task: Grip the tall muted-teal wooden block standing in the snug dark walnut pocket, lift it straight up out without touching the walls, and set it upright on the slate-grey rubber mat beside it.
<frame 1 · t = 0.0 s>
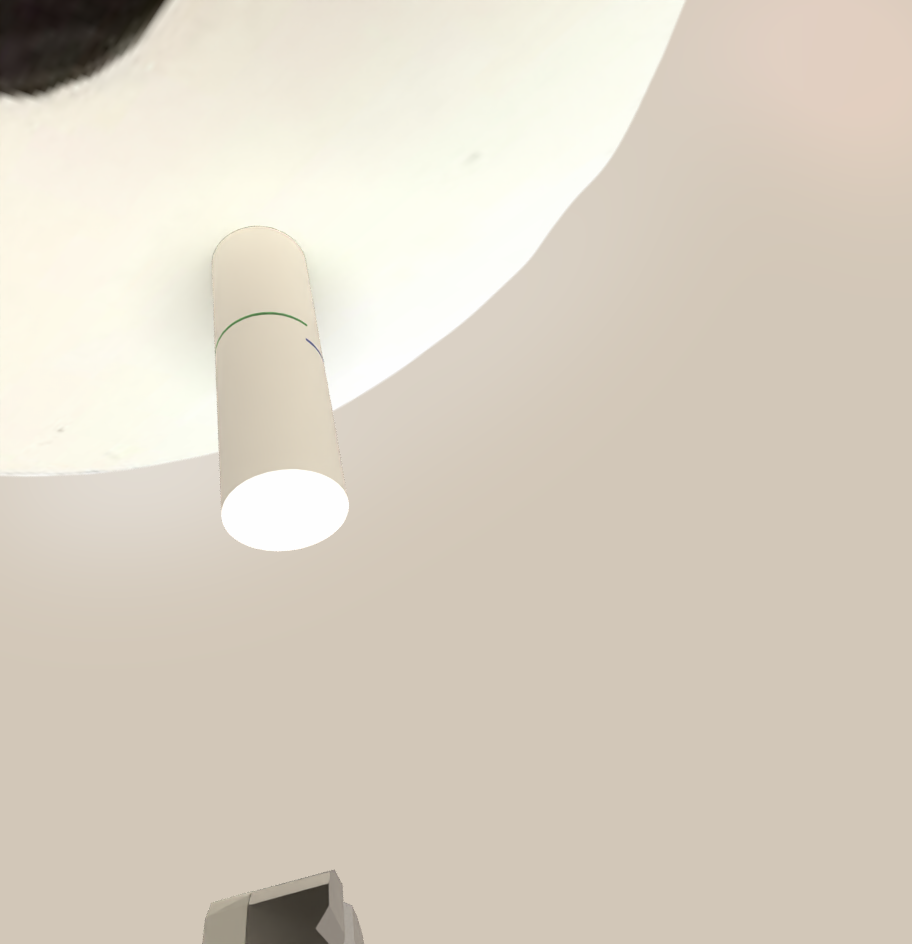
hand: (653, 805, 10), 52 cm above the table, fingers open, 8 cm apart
cylindrical container: (259, 266, 62), on the table
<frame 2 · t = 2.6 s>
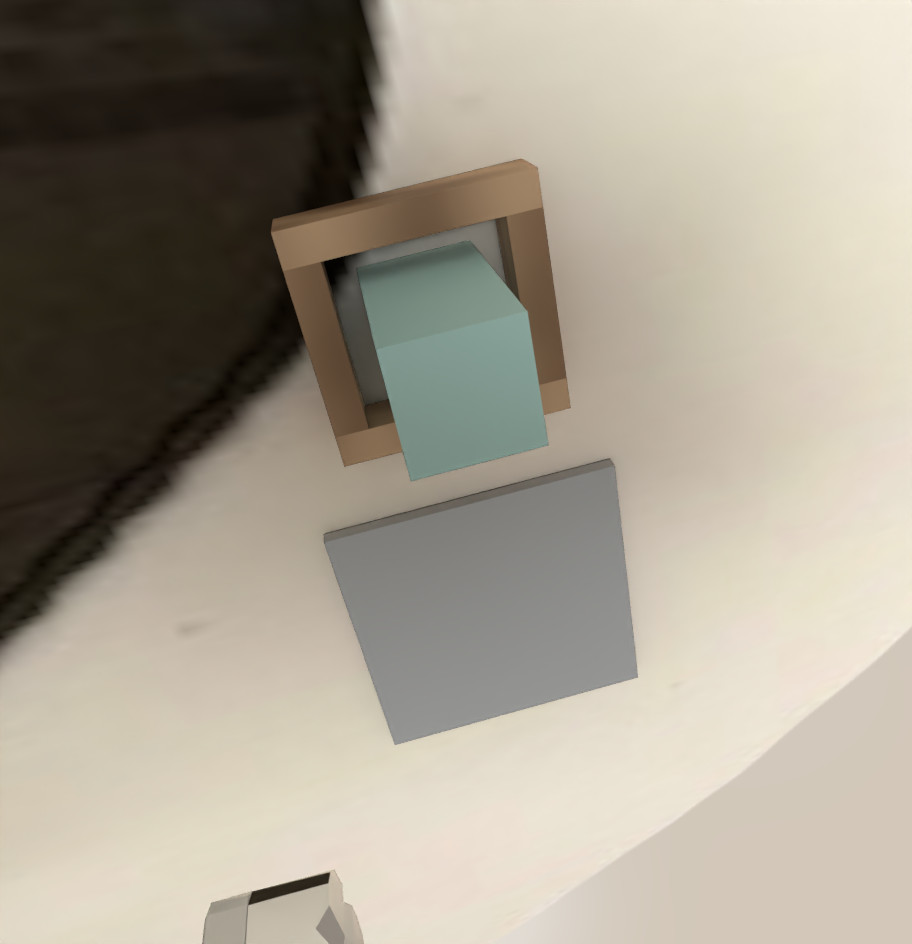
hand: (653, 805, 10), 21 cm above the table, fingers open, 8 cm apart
mat: (493, 607, 35), on the table
teal block: (425, 309, 28), resting in pocket
pocket: (425, 309, 28), on the table
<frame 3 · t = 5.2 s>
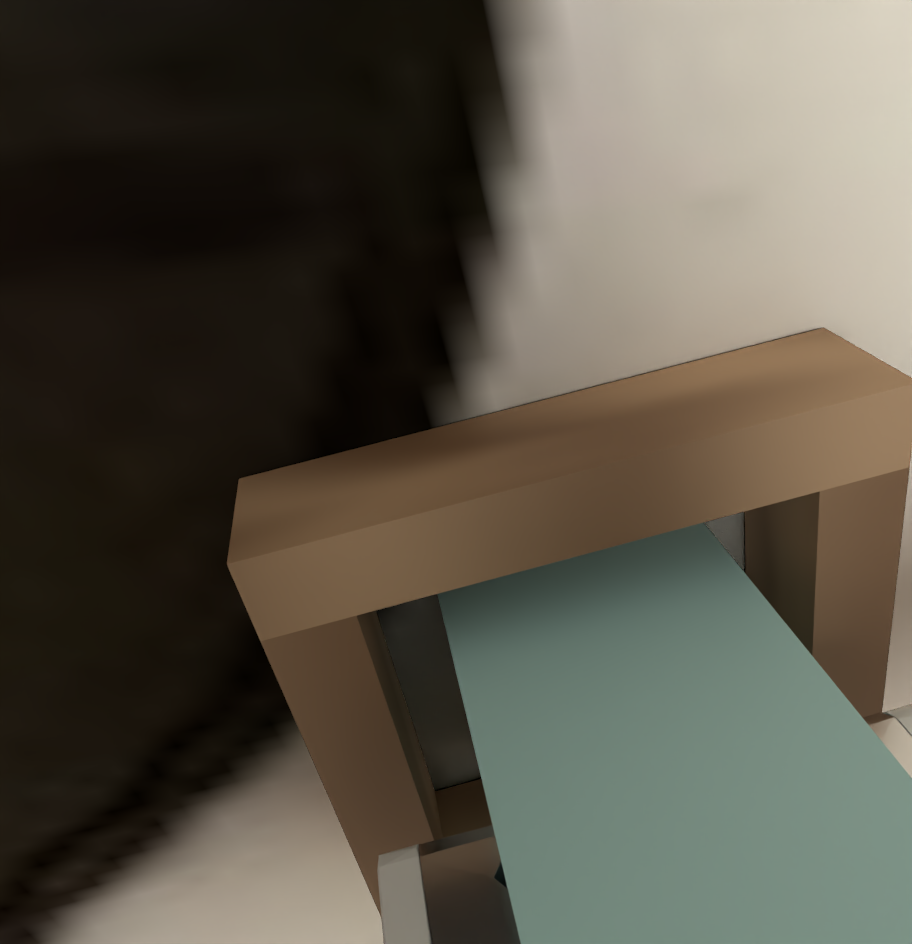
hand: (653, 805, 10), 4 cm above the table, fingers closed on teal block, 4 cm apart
teal block: (572, 626, 13), resting in pocket, touching gripper
pocket: (573, 626, 13), on the table
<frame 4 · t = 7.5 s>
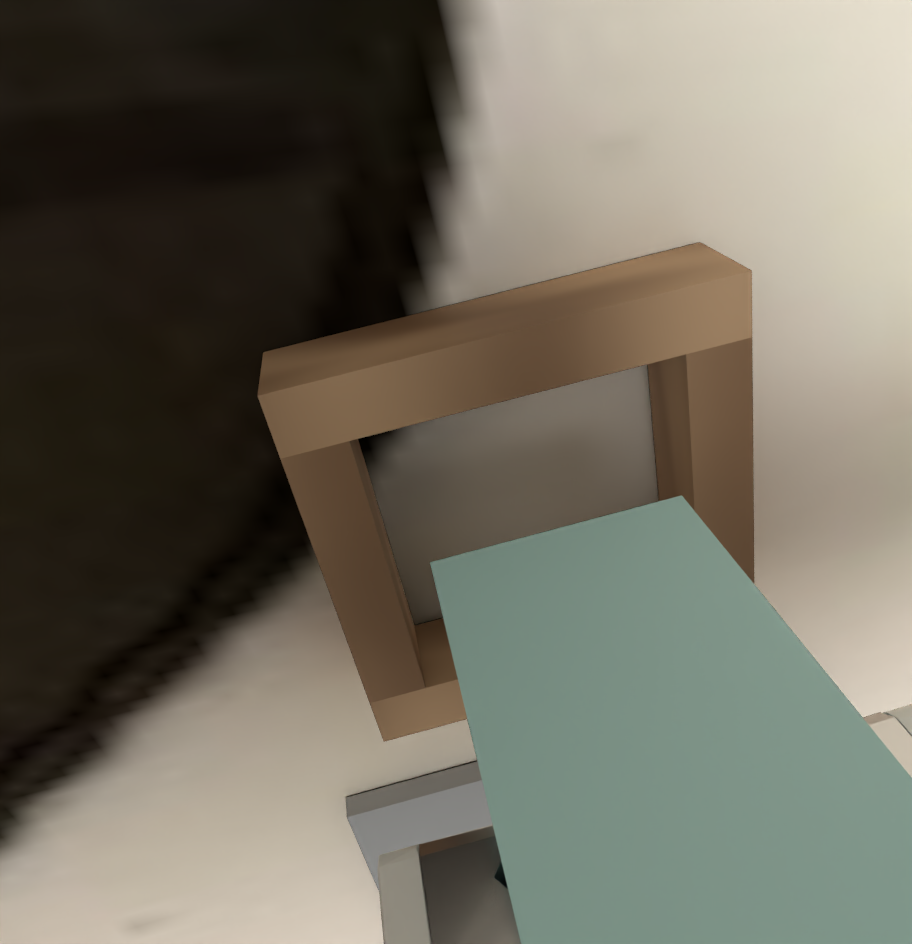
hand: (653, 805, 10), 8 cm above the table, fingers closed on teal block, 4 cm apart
mat: (592, 869, 24), on the table
teal block: (572, 625, 13), point 4 cm above the table, touching gripper
pocket: (519, 484, 17), on the table
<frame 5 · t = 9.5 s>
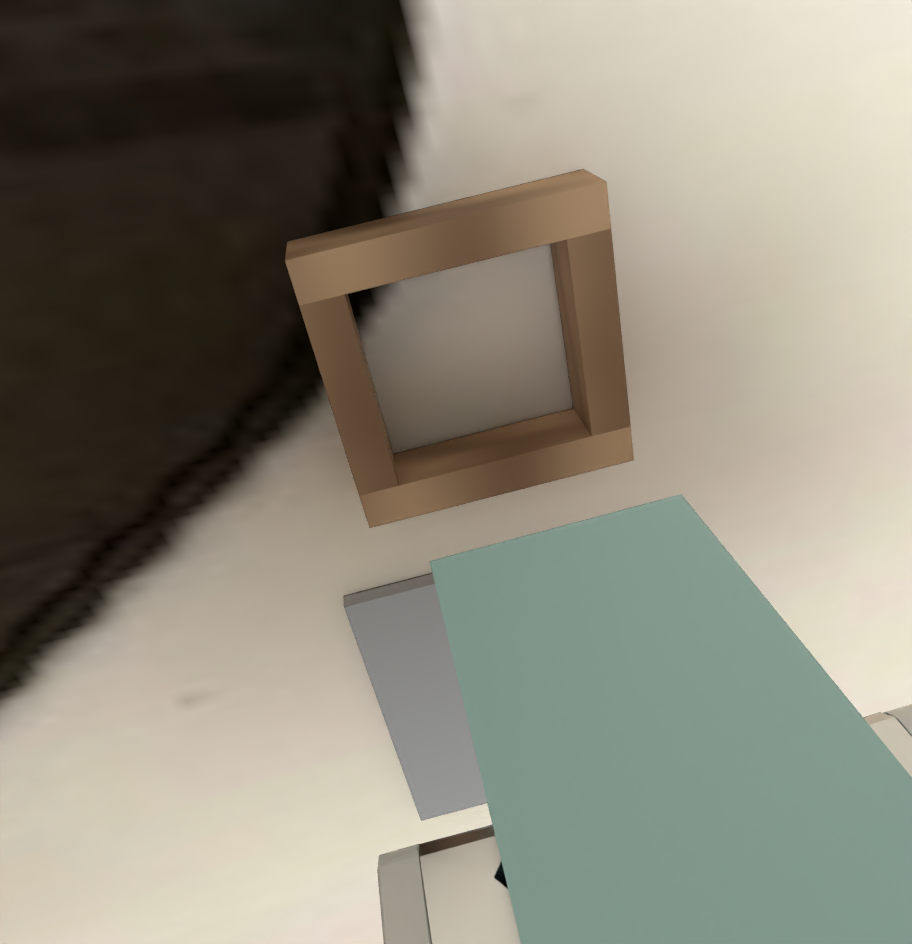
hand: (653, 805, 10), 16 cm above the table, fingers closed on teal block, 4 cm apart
mat: (534, 673, 31), on the table
teal block: (572, 624, 13), point 13 cm above the table, touching gripper
pocket: (465, 345, 24), on the table
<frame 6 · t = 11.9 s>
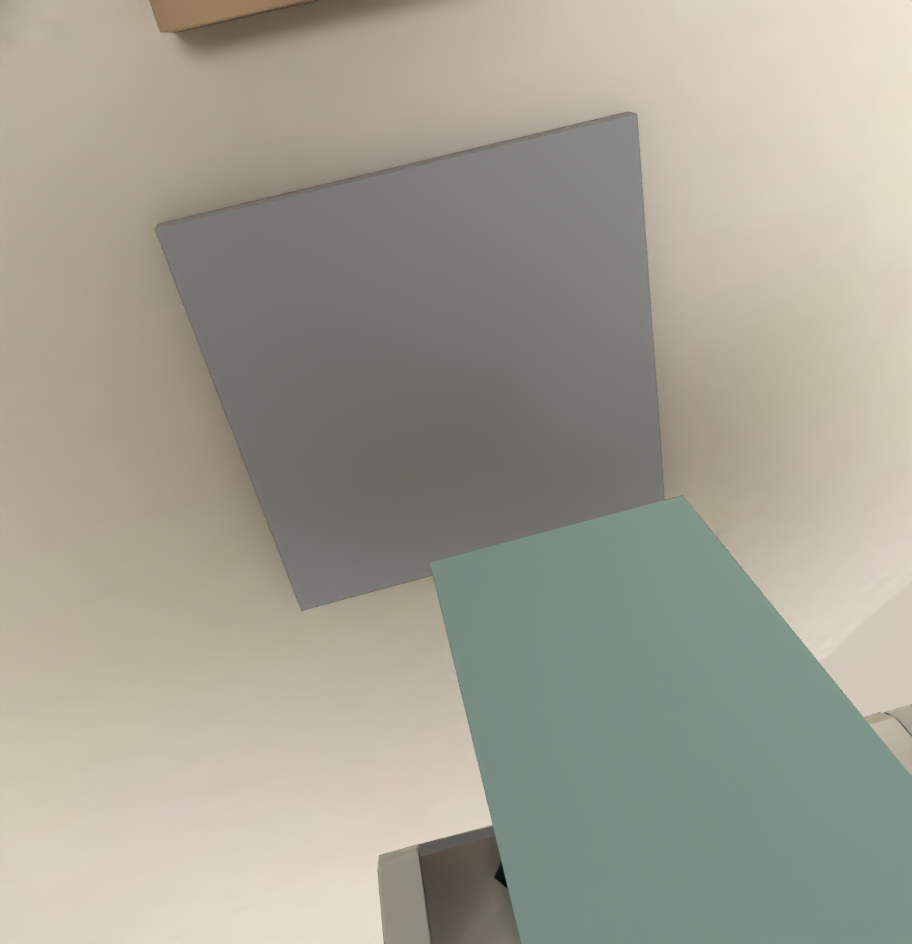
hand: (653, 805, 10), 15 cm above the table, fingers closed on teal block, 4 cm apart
mat: (445, 384, 23), on the table
teal block: (573, 626, 13), point 11 cm above the table, touching gripper
when the fingers open (6 cm above the table, at t = 13.8 s): teal block drops 1 cm, resting on mat.
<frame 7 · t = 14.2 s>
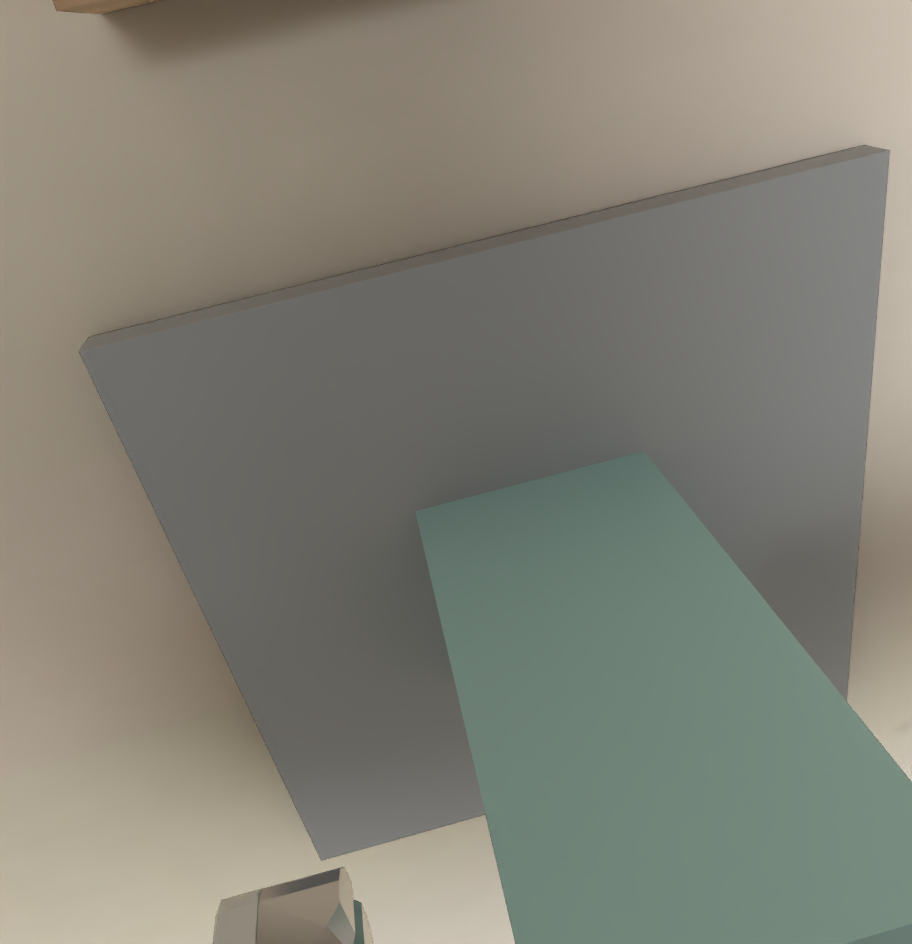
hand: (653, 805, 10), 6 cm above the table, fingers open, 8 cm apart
mat: (542, 555, 15), on the table
teal block: (546, 573, 14), point 1 cm above the table, touching mat
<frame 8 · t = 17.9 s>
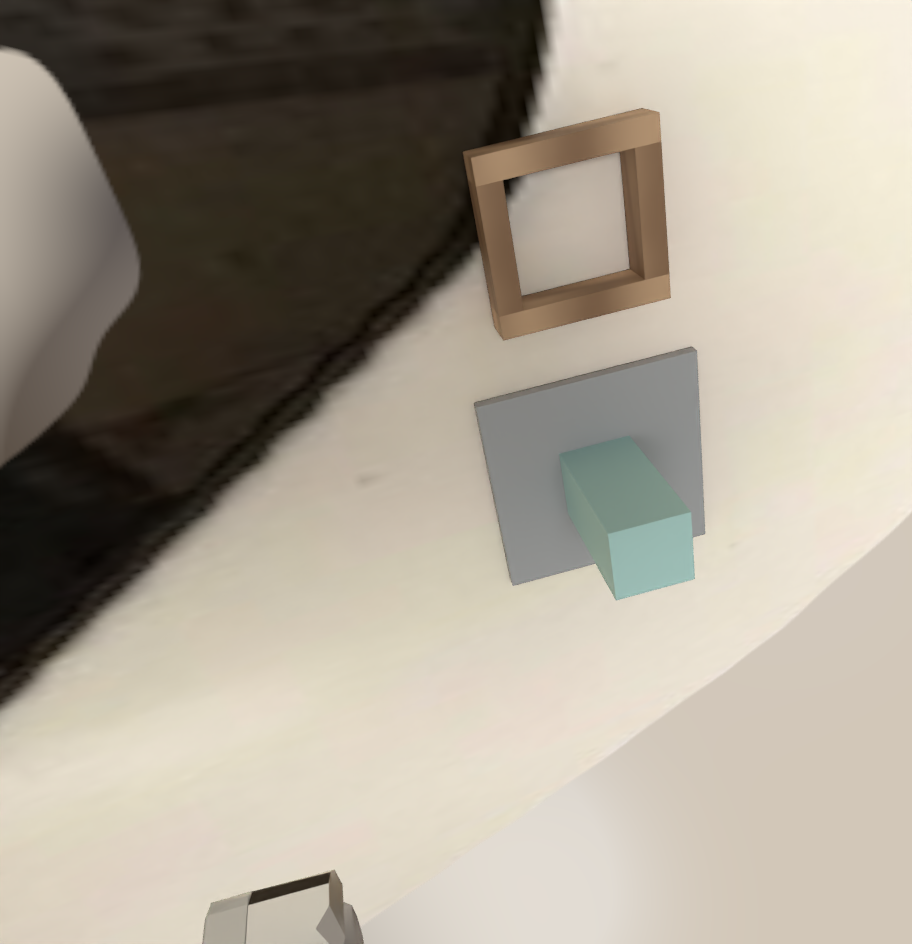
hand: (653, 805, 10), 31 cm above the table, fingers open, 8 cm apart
mat: (595, 470, 45), on the table
teal block: (597, 475, 44), point 1 cm above the table, touching mat
pocket: (564, 223, 38), on the table
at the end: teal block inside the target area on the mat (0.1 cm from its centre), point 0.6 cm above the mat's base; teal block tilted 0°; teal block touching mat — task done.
